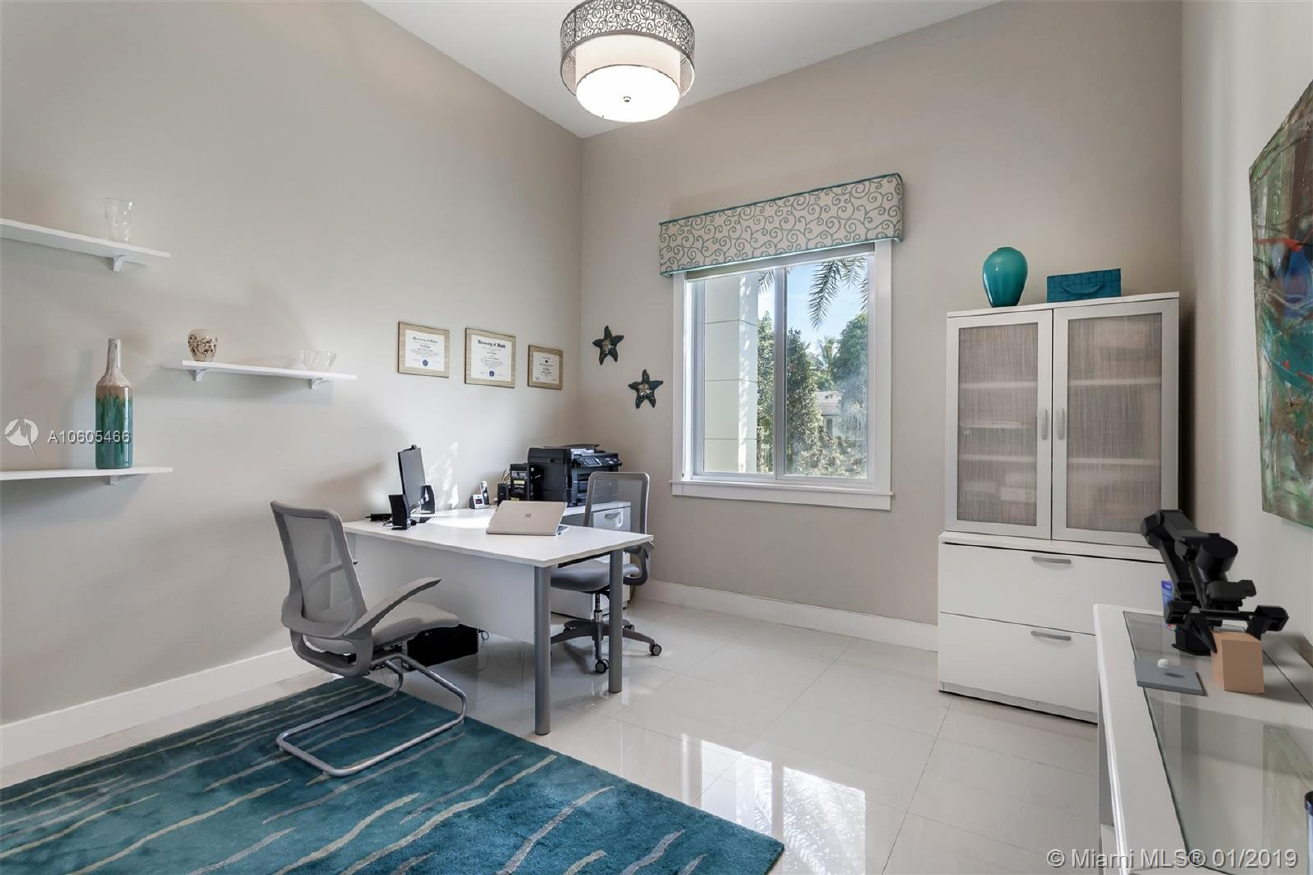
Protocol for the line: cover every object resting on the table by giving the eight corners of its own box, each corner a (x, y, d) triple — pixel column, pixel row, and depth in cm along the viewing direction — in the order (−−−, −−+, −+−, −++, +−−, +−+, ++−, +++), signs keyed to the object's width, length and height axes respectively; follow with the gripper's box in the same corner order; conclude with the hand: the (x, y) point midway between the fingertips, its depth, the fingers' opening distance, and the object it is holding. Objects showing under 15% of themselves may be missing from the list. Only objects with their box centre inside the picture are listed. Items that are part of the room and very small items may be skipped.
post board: (1133, 663, 136) (1132, 645, 136) (1193, 671, 131) (1192, 652, 131) (1137, 685, 125) (1136, 665, 125) (1202, 695, 119) (1201, 674, 119)
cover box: (1212, 679, 126) (1209, 630, 126) (1250, 682, 124) (1248, 633, 124) (1224, 690, 121) (1221, 639, 121) (1264, 694, 118) (1261, 642, 118)
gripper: (1164, 562, 131) (1184, 629, 121) (1281, 566, 123) (1314, 638, 113) (1155, 590, 138) (1174, 656, 128) (1265, 596, 130) (1295, 666, 120)
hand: (1236, 653), depth 122 cm, fingers closed on cover box, 6 cm apart
